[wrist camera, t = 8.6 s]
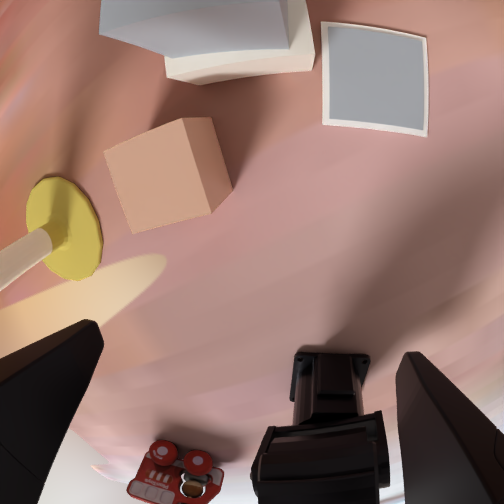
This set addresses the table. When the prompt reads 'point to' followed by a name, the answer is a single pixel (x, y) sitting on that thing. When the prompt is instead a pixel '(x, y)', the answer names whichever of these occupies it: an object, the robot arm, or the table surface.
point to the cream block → (251, 56)
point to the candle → (55, 234)
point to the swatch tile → (374, 79)
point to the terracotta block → (169, 173)
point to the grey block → (197, 25)
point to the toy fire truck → (175, 476)
